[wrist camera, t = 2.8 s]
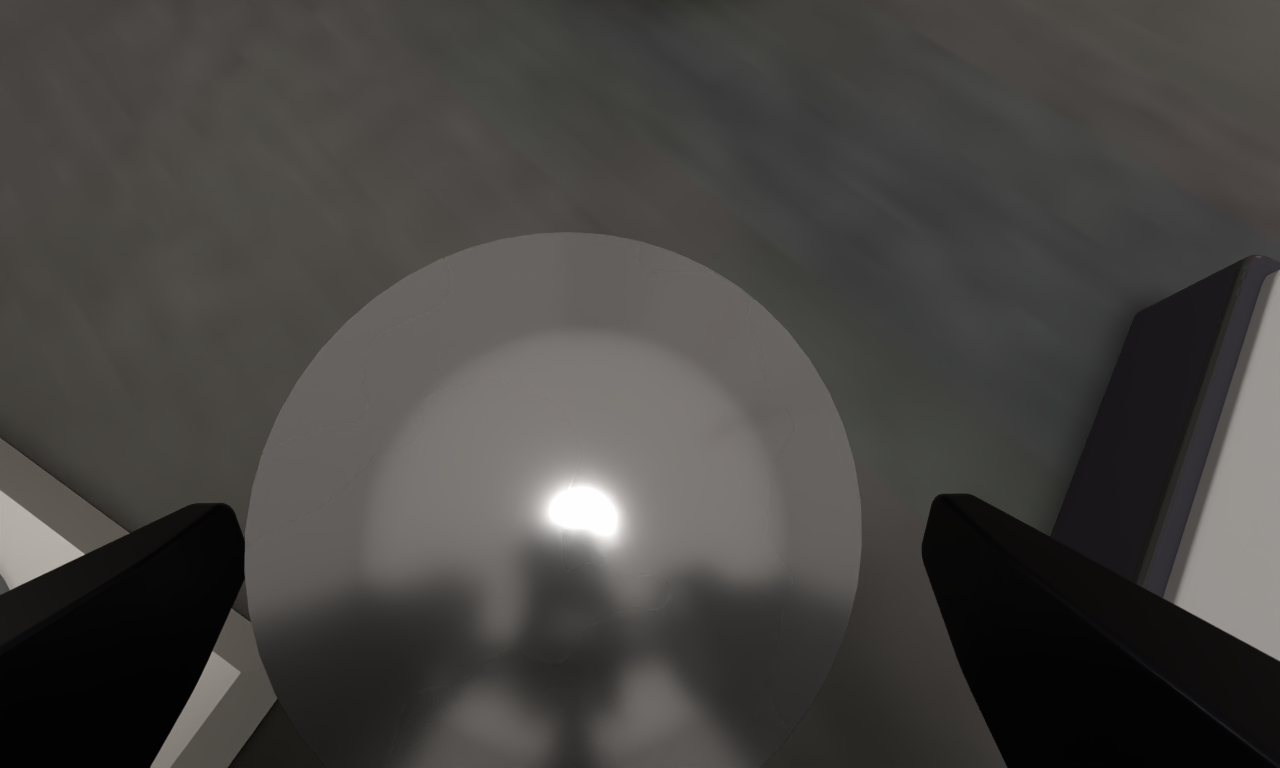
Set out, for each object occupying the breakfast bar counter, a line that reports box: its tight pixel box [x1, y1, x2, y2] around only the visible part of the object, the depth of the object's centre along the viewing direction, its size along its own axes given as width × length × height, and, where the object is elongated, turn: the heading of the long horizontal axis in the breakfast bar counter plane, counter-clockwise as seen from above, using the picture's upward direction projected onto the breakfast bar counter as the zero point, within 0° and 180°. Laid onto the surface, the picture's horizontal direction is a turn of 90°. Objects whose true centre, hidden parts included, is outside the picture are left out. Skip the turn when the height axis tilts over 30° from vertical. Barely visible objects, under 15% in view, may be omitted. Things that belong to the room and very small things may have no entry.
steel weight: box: [244, 232, 862, 768], centre depth 10 cm, size 5×5×11 cm
